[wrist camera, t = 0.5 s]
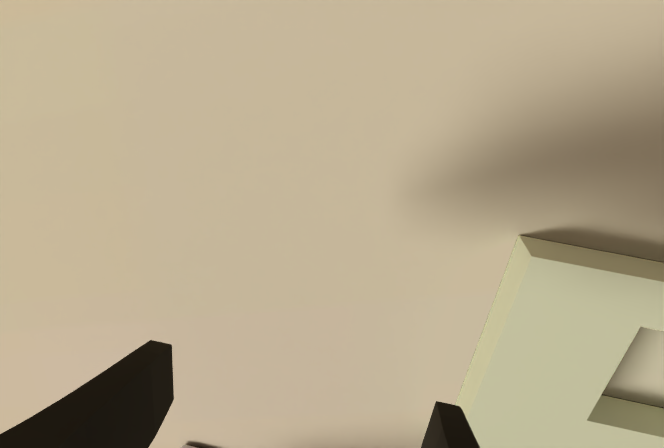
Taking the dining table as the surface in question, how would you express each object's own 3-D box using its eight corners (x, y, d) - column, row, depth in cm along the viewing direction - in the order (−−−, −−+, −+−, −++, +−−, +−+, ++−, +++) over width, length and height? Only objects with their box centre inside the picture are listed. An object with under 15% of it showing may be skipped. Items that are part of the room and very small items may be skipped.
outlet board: (688, 503, 23) (712, 542, 22) (439, 445, 24) (443, 478, 23) (856, 299, 17) (908, 329, 16) (518, 235, 19) (531, 256, 17)
